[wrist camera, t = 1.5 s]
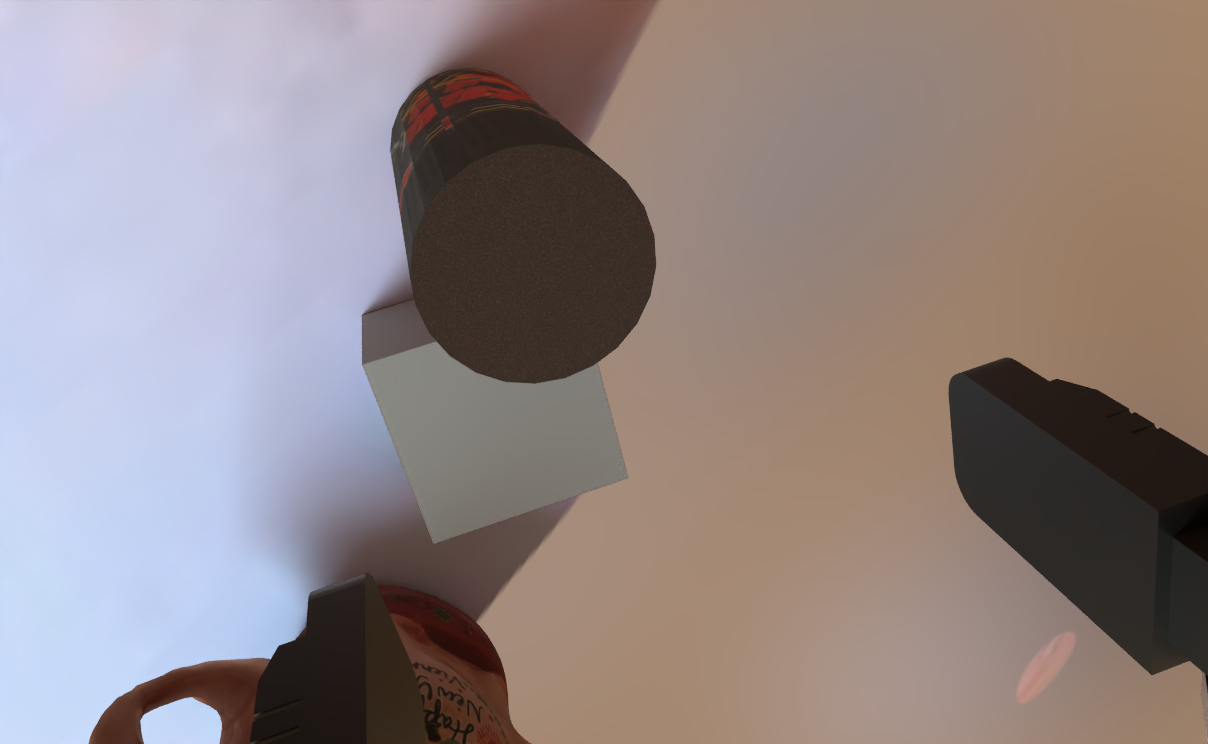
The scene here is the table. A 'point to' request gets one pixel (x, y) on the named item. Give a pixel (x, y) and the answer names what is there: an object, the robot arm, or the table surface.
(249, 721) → the decorated ceramic mug
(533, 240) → the deodorant
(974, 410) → the robot arm
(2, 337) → the table surface
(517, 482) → the grey block
